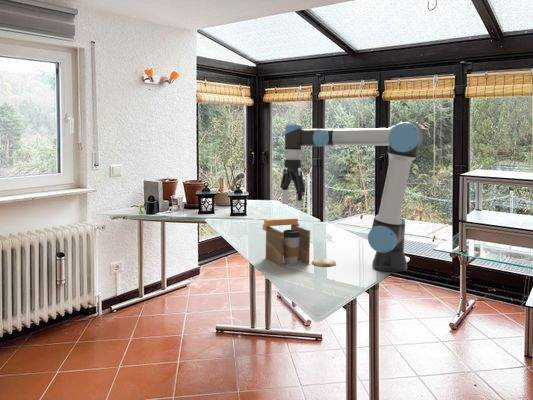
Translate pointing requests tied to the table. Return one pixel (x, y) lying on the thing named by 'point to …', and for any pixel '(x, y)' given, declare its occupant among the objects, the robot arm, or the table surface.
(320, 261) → the coaster
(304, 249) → the cradle
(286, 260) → the coffee cup
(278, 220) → the orange notched bar
